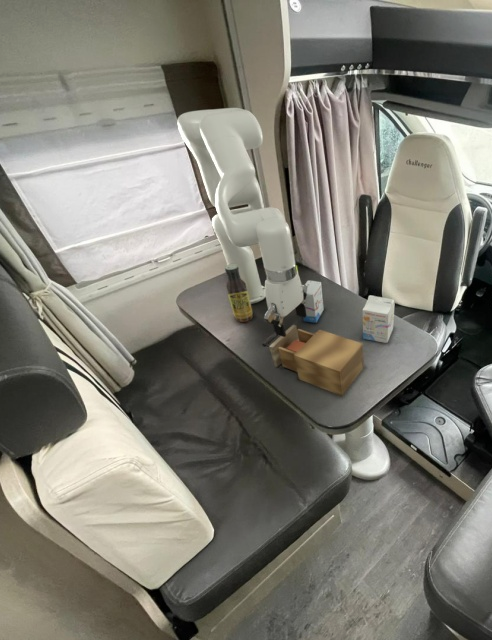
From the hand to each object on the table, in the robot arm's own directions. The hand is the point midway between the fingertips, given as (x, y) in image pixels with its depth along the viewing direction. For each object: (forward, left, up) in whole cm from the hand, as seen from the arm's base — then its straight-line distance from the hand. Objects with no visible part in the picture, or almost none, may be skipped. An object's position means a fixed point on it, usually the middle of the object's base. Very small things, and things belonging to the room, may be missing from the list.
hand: (291, 325), depth 102 cm
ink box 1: (-9, +22, -14) cm, 27 cm away
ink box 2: (+16, +23, -14) cm, 31 cm away
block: (0, 0, -12) cm, 12 cm away
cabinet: (+12, 0, -14) cm, 18 cm away
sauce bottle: (-30, +10, -14) cm, 35 cm away
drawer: (0, 0, -13) cm, 13 cm away
